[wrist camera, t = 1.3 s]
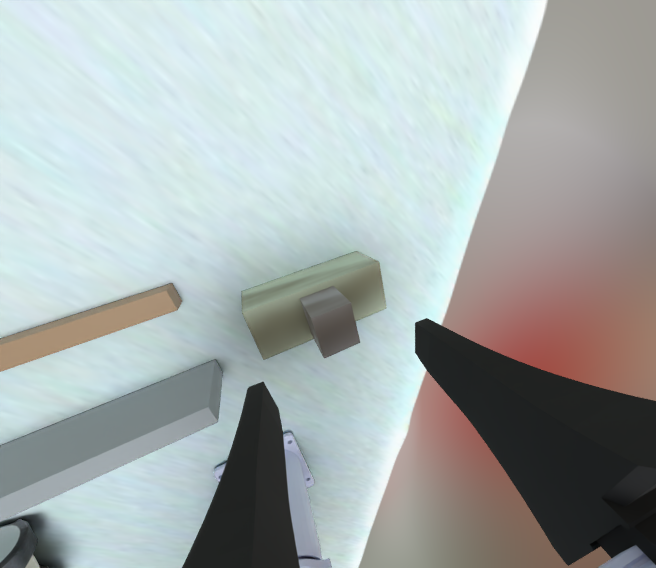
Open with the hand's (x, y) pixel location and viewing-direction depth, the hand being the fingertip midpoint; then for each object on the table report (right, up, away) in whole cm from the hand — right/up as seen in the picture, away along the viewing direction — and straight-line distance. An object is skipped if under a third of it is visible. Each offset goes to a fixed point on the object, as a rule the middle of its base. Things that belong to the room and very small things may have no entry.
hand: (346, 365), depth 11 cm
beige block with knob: (-3, +3, +10) cm, 11 cm away
